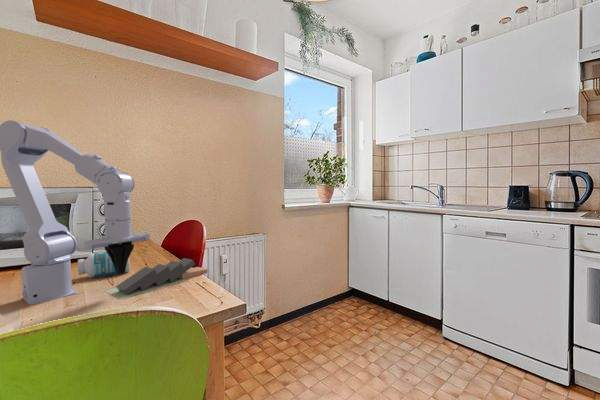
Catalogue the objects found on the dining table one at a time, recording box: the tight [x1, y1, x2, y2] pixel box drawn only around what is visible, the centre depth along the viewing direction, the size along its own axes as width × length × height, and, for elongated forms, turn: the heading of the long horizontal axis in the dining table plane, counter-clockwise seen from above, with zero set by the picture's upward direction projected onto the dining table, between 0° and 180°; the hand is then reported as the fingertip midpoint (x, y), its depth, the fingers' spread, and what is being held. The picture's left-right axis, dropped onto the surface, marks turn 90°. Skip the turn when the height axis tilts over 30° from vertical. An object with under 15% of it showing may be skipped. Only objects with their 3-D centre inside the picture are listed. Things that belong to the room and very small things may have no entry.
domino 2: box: [137, 263, 170, 291], centre depth 82 cm, size 2×5×8 cm
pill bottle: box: [77, 251, 131, 278], centre depth 94 cm, size 8×7×14 cm
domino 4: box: [166, 257, 196, 282], centre depth 89 cm, size 2×5×8 cm
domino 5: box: [178, 266, 208, 280], centre depth 92 cm, size 2×5×8 cm
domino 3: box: [152, 260, 183, 286], centre depth 86 cm, size 2×5×8 cm
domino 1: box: [115, 266, 157, 295], centre depth 79 cm, size 2×5×8 cm
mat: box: [104, 278, 188, 300], centre depth 83 cm, size 18×10×1 cm, turn 143°
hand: (120, 272), depth 76 cm, fingers closed
